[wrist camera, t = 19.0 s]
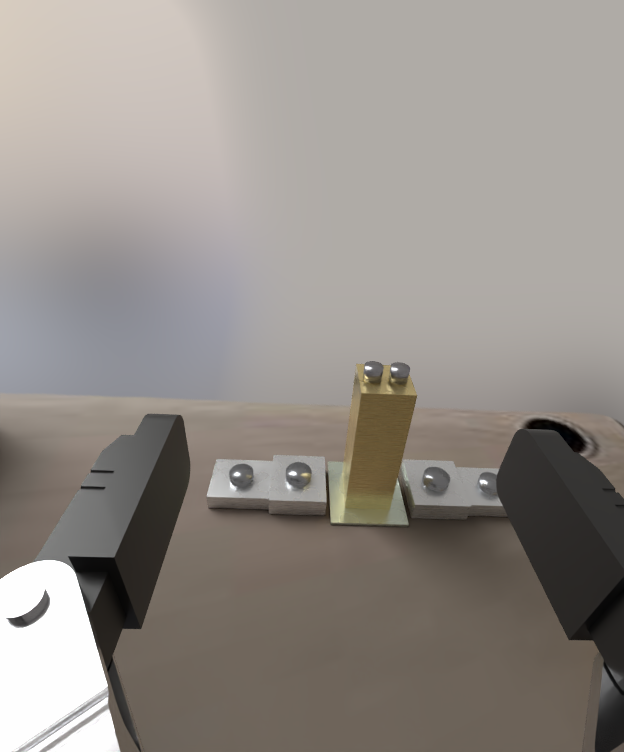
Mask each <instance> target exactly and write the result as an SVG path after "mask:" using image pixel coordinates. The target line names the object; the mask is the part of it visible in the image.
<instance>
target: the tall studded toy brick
mask: <svg viewBox="0 0 624 752" xmlns="http://www.w3.org/2000/svg"><path fill="white" fill-rule="evenodd" d="M409 372H410V367H409V366H408V365H406V364H404V363H393V364H392V365H382V364H381V363H379V362H375V361H370V362H367V363H365V364H356V370H355V379H354V386H353V394H352V402H351V409H350V417H349V425H348V432H347V440H346V448H345V456H344V463H343V471H342V479H343V491H344V504H345V508H360V509H387V510H390V507H391V503H392V499H393V494H394V490H395V486H396V482H397V478H398V474H399V469H400V465H401V461H402V457H403V453H404V448H405V444H406V440H407V436H408V432H409V428H410V423H411V419H412V415H413V411H414V407H415V402H416V398H417V394H416V391H415V389H414V386H413V383H412V380H411V378H410V375H409Z"/></svg>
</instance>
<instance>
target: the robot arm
mask: <svg viewBox="0 0 624 752" xmlns="http://www.w3.org/2000/svg"><path fill="white" fill-rule="evenodd" d="M189 477H190V458H189V452H188V446H187V440H186V433H185V427H184V421H183V418H182V416H181V415H169V414H147V415H146V416H145V417H144V418H143V420H142V422H141V424H140V425H139V427H138V429H137V431H136V433H135V435H121V436H120V437H119V438H117V439H116V440H115V441H114V442H113V443H111V444H110V445H109V446H108V447H107V448H105V449H104V450H103V451H102V452H101V454H100V456H99V457H98V459H97V460H96V462H95V464H94V465H93V467H92V469H91V473H90V474H88V475H87V477H86V478H85V480H84V482H83V483H82V485H81V489H80V490H78V491H77V493H76V495H75V496H74V498H73V499H72V501H71V503H70V504H69V506H68V508H67V509H66V511H65V512H64V514H63V516H62V517H61V519H60V521H59V522H58V524H57V525H56V527H55V529H54V530H53V532H52V533H51V535H50V537H49V538H48V540H47V542H46V543H45V545H44V546H43V548H42V550H41V551H40V553H39V554H38V556H37V557H36V559H35V560H34V561H33V562H32V564H28V565H26V566H23V567H21V568H19V569H17V570H15V571H13V572H11V573H10V574H8V575H7V576H5V577H4V578H2V579H1V580H0V752H144V749H143V746H142V742H141V739H140V736H139V733H138V730H137V727H136V723H135V720H134V717H133V714H132V711H131V707H130V704H129V701H128V698H127V695H126V691H125V688H124V685H123V682H122V679H121V676H120V672H119V669H118V666H117V663H116V660H115V656H114V654H113V653H114V650H115V647H116V645H117V642H118V639H119V637H120V634H121V631H122V629H141V628H142V625H143V622H144V618H145V615H146V612H147V609H148V606H149V603H150V600H151V597H152V594H153V591H154V588H155V585H156V582H157V579H158V576H159V573H160V570H161V567H162V564H163V561H164V557H165V554H166V551H167V548H168V545H169V542H170V539H171V536H172V533H173V530H174V527H175V524H176V521H177V518H178V515H179V512H180V509H181V506H182V503H183V500H184V497H185V493H186V490H187V487H188V483H189ZM496 488H497V493H498V497H499V499H500V501H501V503H502V505H503V507H504V509H505V511H506V513H507V516H508V518H509V520H510V522H511V524H512V526H513V528H514V530H515V532H516V534H517V536H518V538H519V540H520V542H521V544H522V546H523V548H524V550H525V552H526V554H527V556H528V558H529V560H530V562H531V564H532V566H533V568H534V570H535V572H536V574H537V576H538V578H539V580H540V582H541V584H542V586H543V589H544V591H545V593H546V595H547V597H548V599H549V601H550V603H551V605H552V607H553V609H554V611H555V613H556V615H557V617H558V619H559V621H560V623H561V625H562V627H563V629H564V631H565V633H566V635H567V637H568V639H569V640H593V641H594V642H595V644H596V646H597V648H598V650H599V653H598V654H597V655H596V657H595V659H594V662H593V669H592V677H591V684H590V692H589V700H588V708H587V716H586V723H585V731H584V739H583V747H582V752H624V499H623V498H622V496H621V495H620V494H619V493H616V492H615V488H614V486H613V485H612V484H611V483H610V482H609V480H608V479H607V478H606V477H605V475H604V474H603V473H602V472H601V471H600V469H598V468H597V467H596V466H594V465H593V464H592V463H590V462H589V461H588V460H586V459H585V458H584V457H583V456H581V455H580V454H579V453H574V452H573V451H572V450H571V448H570V447H569V446H568V444H567V443H566V442H565V441H564V439H563V438H562V437H561V435H560V434H559V433H557V432H556V431H553V430H534V429H520V430H518V431H517V432H516V433H515V435H514V437H513V439H512V441H511V444H510V446H509V448H508V450H507V453H506V455H505V457H504V460H503V462H502V464H501V466H500V469H499V471H498V474H497V478H496Z"/></svg>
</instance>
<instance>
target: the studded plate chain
mask: <svg viewBox="0 0 624 752" xmlns="http://www.w3.org/2000/svg"><path fill="white" fill-rule="evenodd" d="M343 463H344V462H328V481H329V501H330V522H331V524H333V525H367V526H400V527H408V526H409V524H408V519H407V515H406V511H405V507H404V503H403V499H402V494H401V490H400V486H399V482H398V478H397V482H396V486H395V490H394V494H393V499H392V503H391V507H390V510H387V509H360V508H345V504H344V491H343V479H342V471H343ZM498 471H499V469H489V468H460V467H455V465H454V462H453V461H431V460H403V461H402V465H401V470H400V475H401V479H402V483H403V487H404V491H405V495H406V499H407V503H408V507H409V511H410V515H411V518H423V519H456V520H466V519H467V517H468V516H495V517H508V516H507V513H506V511H505V509H504V507H503V505H502V503H501V501H500V499H499V497H498V493H497V488H496V478H497V474H498ZM207 504H208V508H235V509H268V510H269V514H292V515H325V512H326V477H325V457H316V456H287V455H274V456H273V461H256V460H227V459H217V460H216V464H215V468H214V471H213V475H212V478H211V482H210V486H209V489H208V493H207Z"/></svg>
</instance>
